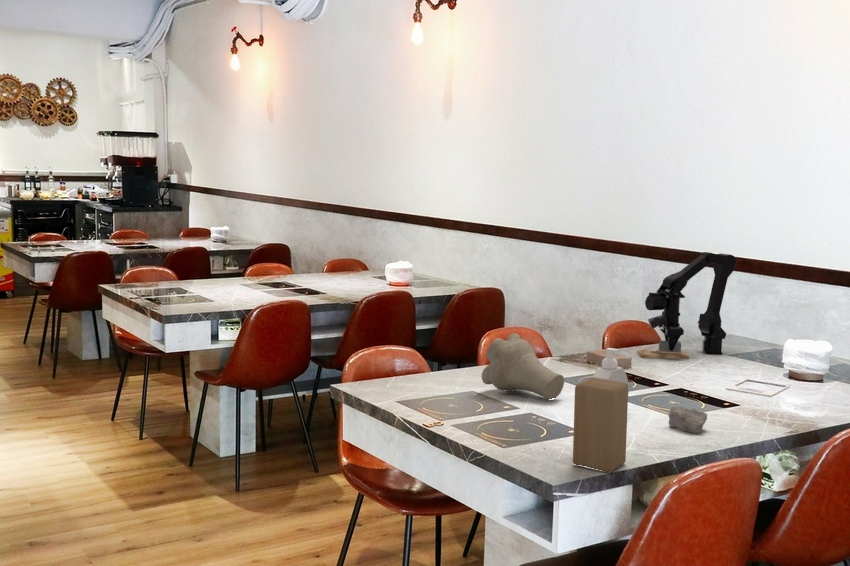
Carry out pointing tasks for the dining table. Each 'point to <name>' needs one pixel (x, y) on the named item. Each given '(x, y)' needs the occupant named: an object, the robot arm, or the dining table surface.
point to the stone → (687, 419)
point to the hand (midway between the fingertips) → (669, 349)
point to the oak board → (661, 354)
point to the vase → (519, 368)
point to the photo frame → (755, 391)
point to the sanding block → (665, 347)
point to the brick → (600, 354)
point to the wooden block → (600, 424)
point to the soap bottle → (611, 368)
